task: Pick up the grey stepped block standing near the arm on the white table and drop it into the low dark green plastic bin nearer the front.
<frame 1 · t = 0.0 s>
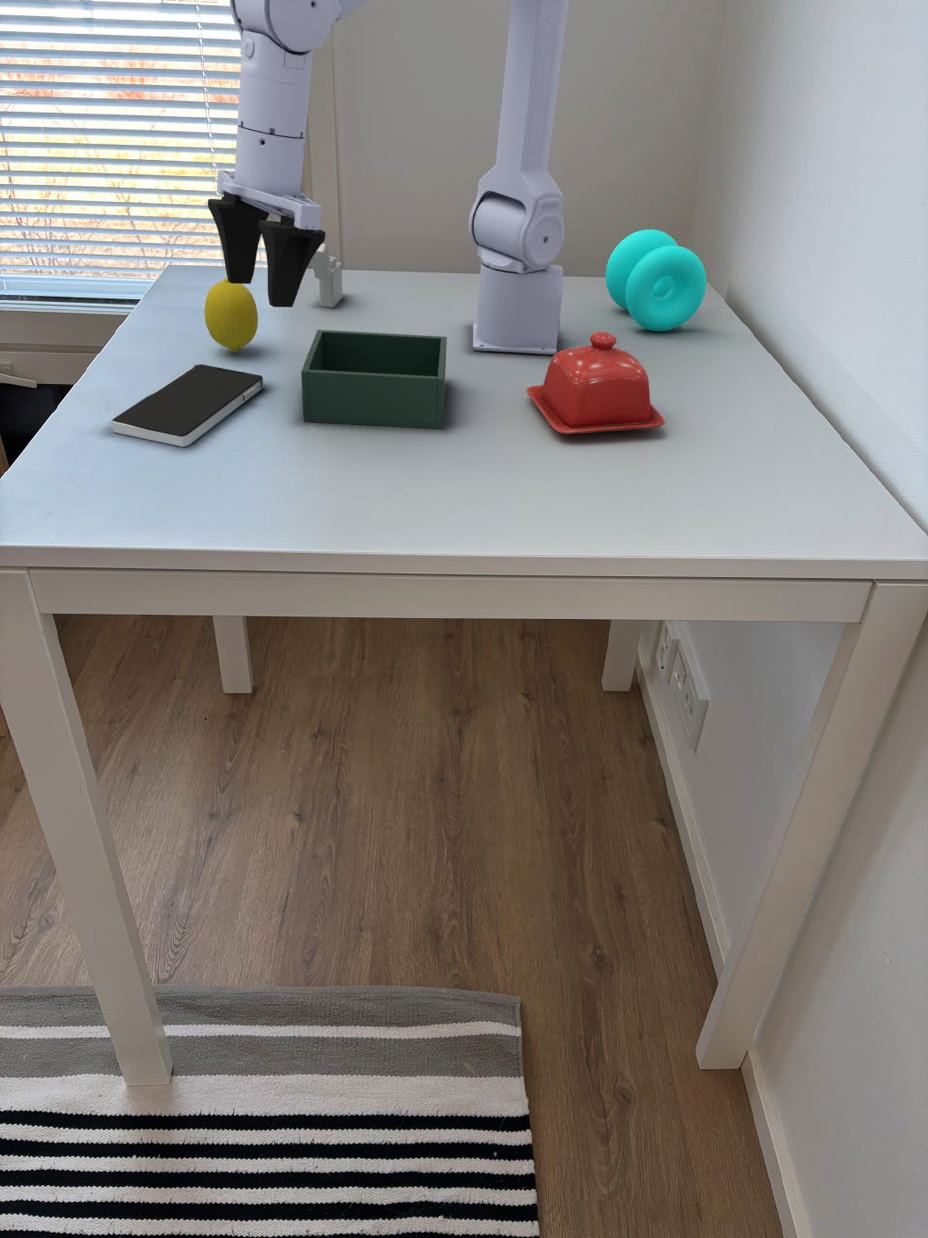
hand: (259, 294, 88), 11 cm above the table, tool pointing down, fingers open, 7 cm apart
grey stepped block: (327, 306, 118), on the table
turquoise yoyo: (647, 322, 120), on the table
butter dish: (591, 418, 96), on the table
lemon: (234, 353, 105), on the table
bin: (377, 401, 96), on the table
smartphone: (192, 410, 92), on the table
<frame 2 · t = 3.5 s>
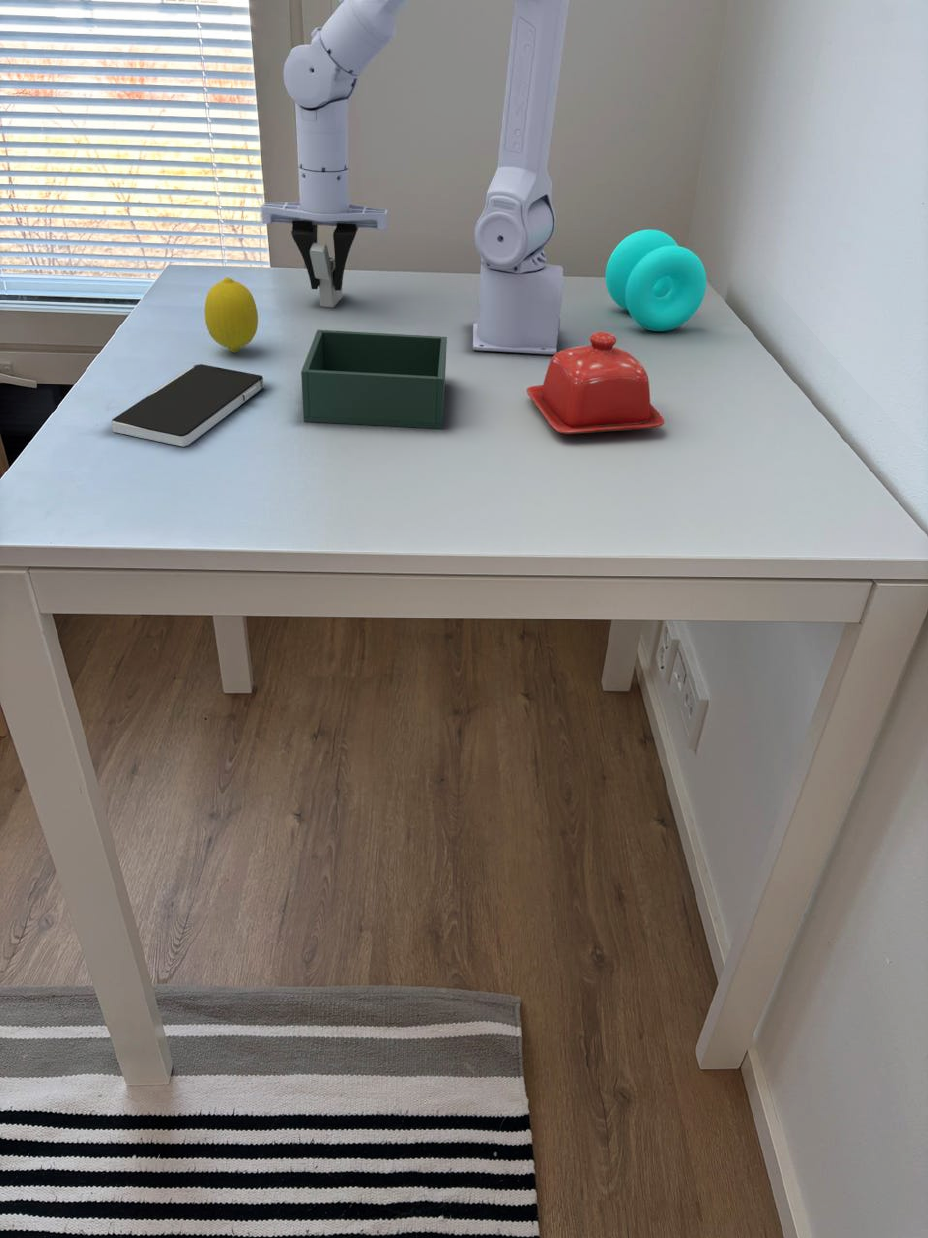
hand: (327, 287, 117), 2 cm above the table, tool pointing down, fingers closed on grey stepped block, 2 cm apart
grey stepped block: (327, 306, 118), on the table, touching gripper
everything else where it was.
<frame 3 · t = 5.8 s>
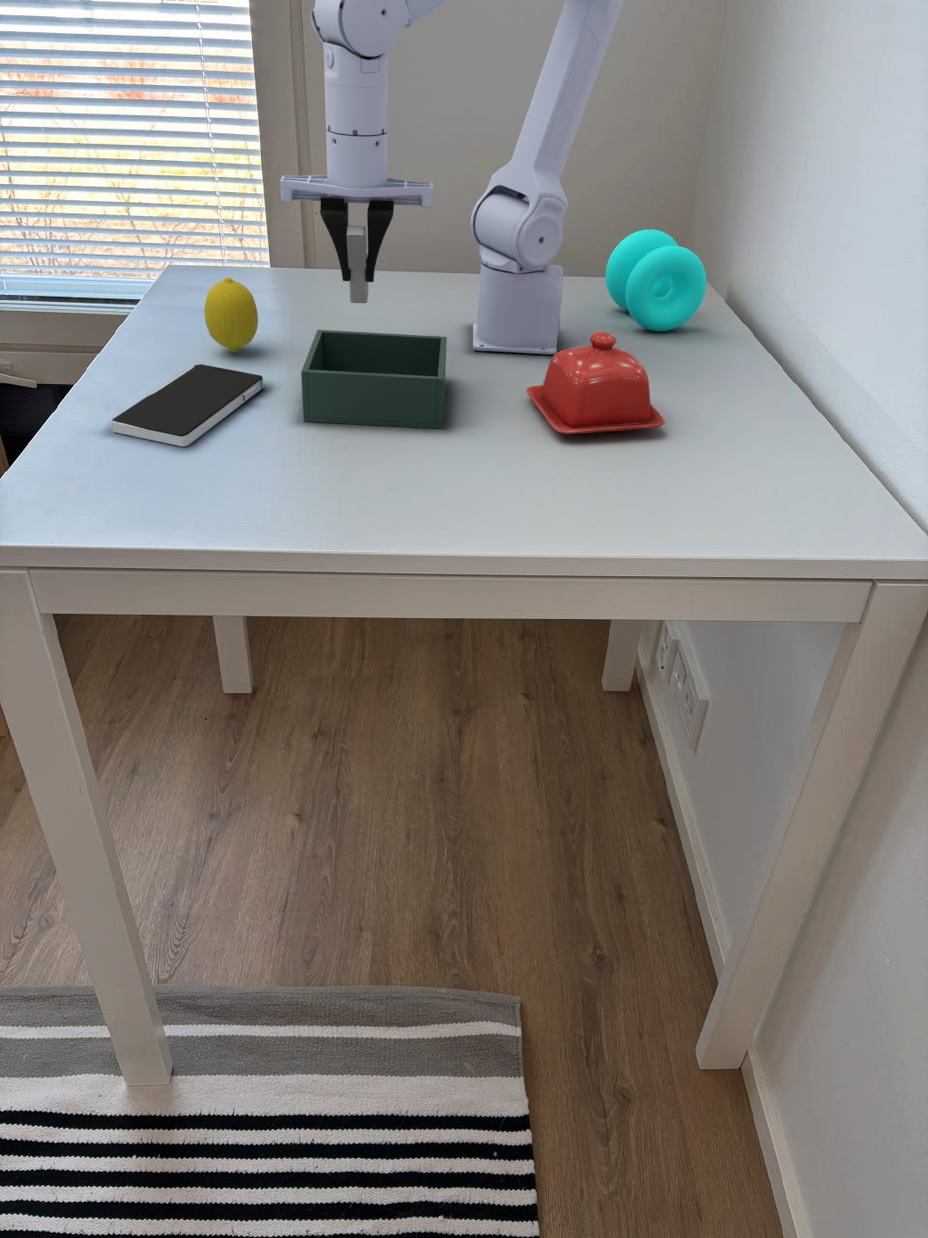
hand: (358, 278, 97), 9 cm above the table, tool pointing down, fingers closed on grey stepped block
grey stepped block: (358, 303, 99), point 7 cm above the table, touching gripper
everything else where it was.
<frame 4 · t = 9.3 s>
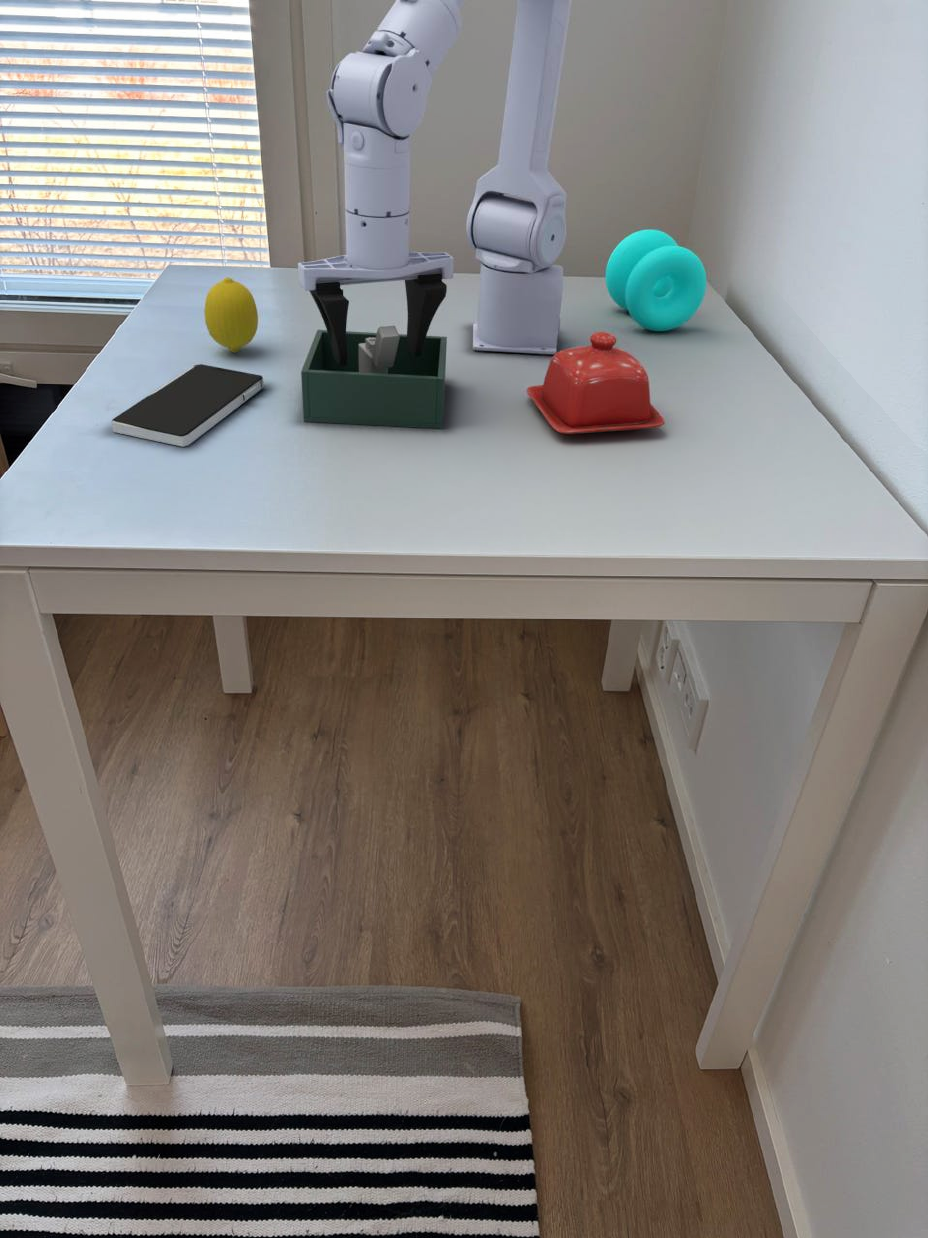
hand: (377, 357, 93), 5 cm above the table, tool pointing down, fingers open, 7 cm apart
grey stepped block: (378, 398, 96), resting on bin
everything else where it was.
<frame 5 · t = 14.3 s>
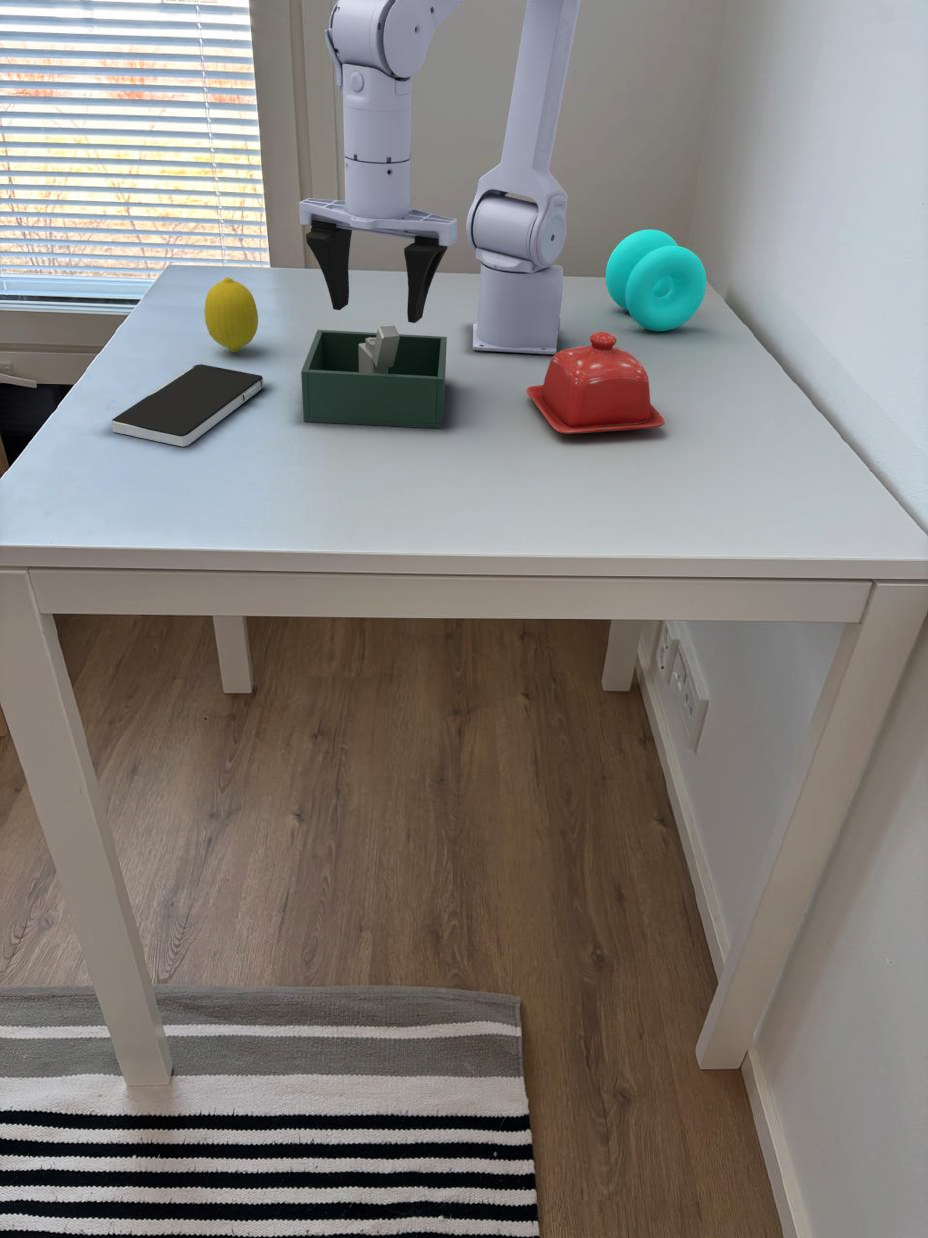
hand: (377, 313, 91), 9 cm above the table, tool pointing down, fingers open, 7 cm apart
nothing on the table moved.
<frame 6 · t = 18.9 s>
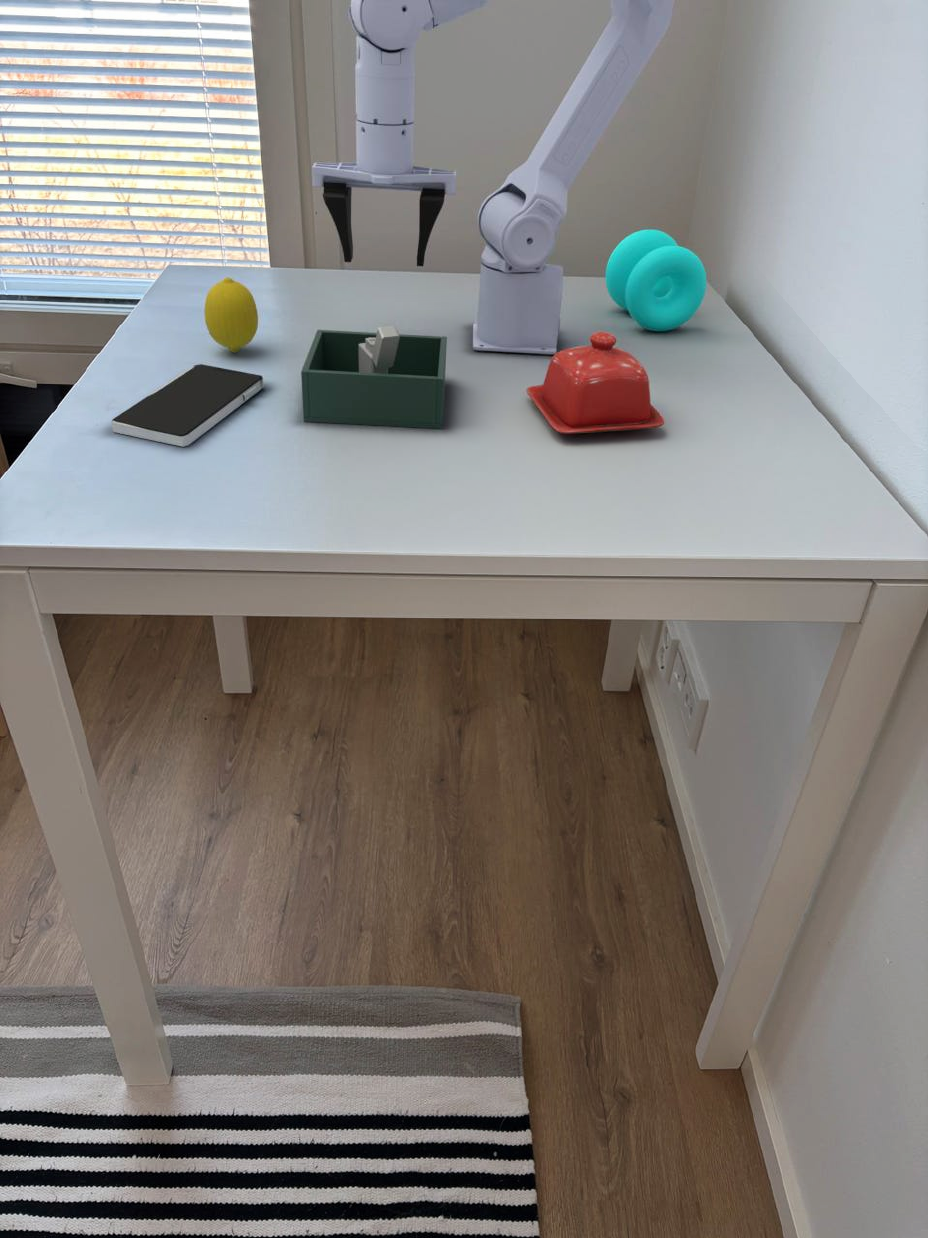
hand: (384, 261, 102), 9 cm above the table, tool pointing down, fingers open, 7 cm apart
nothing on the table moved.
at the end: grey stepped block inside the target area in the bin (0.1 cm from its centre), point 0.3 cm above the bin's base; the gripper is holding nothing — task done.
